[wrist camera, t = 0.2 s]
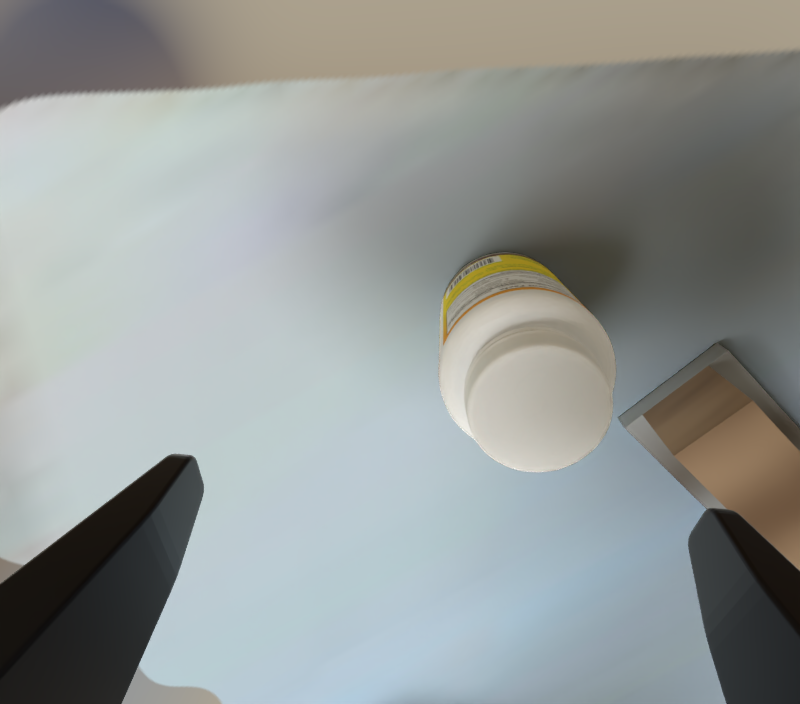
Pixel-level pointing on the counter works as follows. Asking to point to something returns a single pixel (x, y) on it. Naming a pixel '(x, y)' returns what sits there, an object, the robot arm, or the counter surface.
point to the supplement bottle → (524, 364)
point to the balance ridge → (726, 444)
